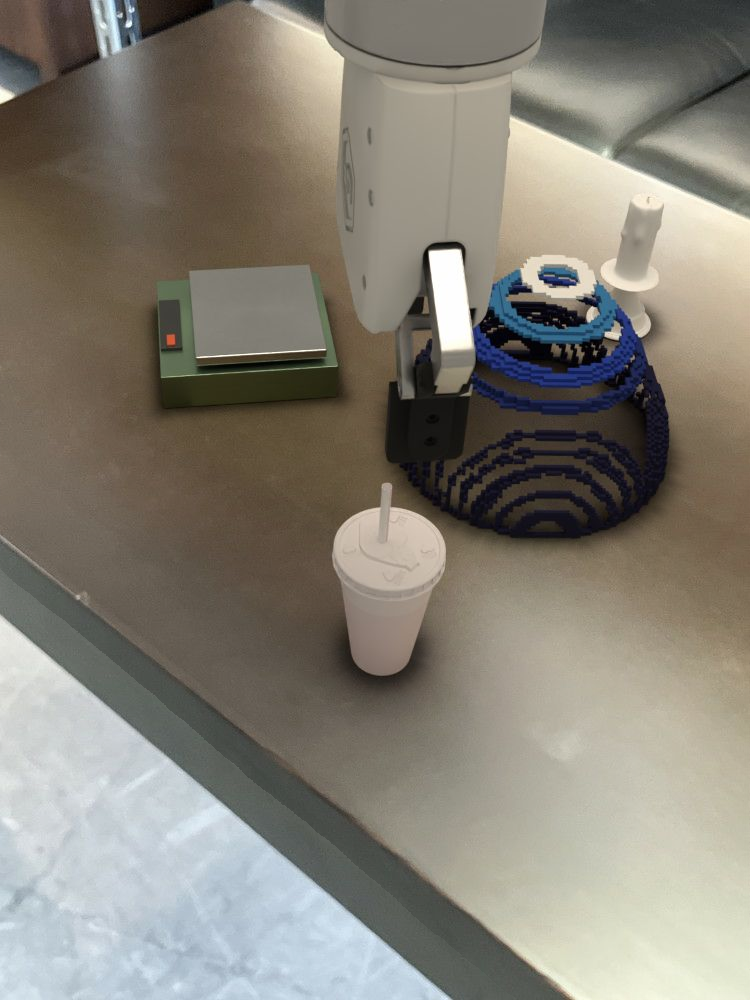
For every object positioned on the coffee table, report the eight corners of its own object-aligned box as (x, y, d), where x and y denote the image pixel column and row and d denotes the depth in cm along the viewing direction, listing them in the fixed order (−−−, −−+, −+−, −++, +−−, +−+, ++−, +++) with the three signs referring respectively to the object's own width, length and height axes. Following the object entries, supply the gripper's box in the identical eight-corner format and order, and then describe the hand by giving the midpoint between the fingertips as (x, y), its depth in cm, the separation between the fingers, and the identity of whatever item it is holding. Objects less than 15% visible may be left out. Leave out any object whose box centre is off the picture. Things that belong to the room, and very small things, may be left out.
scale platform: (196, 366, 84) (195, 357, 83) (189, 278, 91) (188, 270, 91) (326, 358, 85) (327, 349, 84) (309, 272, 93) (309, 264, 92)
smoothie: (381, 594, 74) (394, 434, 64) (454, 653, 71) (479, 495, 61) (307, 648, 71) (308, 488, 61) (380, 713, 68) (394, 556, 58)
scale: (164, 408, 85) (160, 372, 83) (159, 311, 94) (156, 276, 91) (337, 396, 87) (338, 361, 85) (318, 302, 95) (318, 267, 93)
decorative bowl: (636, 354, 93) (678, 196, 82) (691, 538, 79) (750, 376, 68) (388, 350, 91) (400, 189, 81) (400, 536, 78) (415, 370, 67)
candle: (649, 346, 93) (684, 217, 85) (583, 336, 94) (612, 207, 85) (651, 308, 97) (685, 181, 88) (588, 298, 98) (616, 171, 89)
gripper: (300, -100, 44) (302, 272, 56) (358, 119, 32) (344, 530, 45) (490, -101, 45) (451, 265, 57) (614, 112, 33) (531, 516, 46)
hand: (404, 381), depth 51 cm, fingers open, 9 cm apart
